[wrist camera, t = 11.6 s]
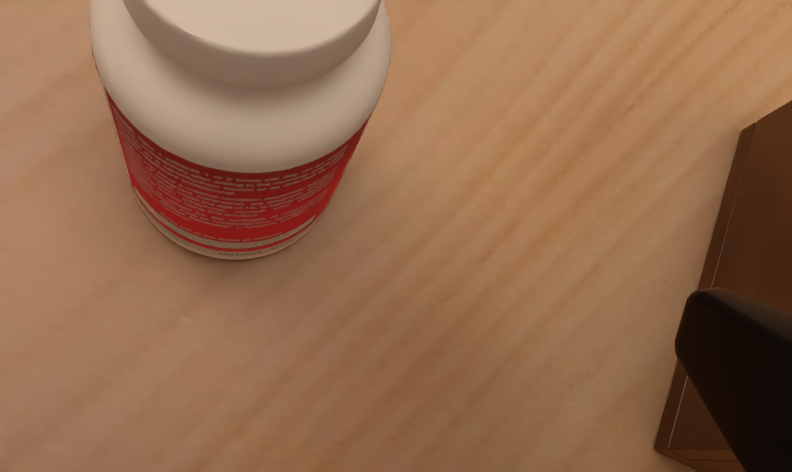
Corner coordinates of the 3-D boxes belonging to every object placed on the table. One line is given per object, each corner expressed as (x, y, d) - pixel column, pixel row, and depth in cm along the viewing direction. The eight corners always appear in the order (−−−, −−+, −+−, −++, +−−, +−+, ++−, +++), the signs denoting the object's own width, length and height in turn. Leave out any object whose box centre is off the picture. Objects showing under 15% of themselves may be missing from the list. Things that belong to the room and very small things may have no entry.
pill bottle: (359, 234, 23) (483, 59, 13) (160, 290, 21) (114, 136, 11) (299, 58, 24) (368, -233, 14) (104, 96, 22) (16, -210, 12)
